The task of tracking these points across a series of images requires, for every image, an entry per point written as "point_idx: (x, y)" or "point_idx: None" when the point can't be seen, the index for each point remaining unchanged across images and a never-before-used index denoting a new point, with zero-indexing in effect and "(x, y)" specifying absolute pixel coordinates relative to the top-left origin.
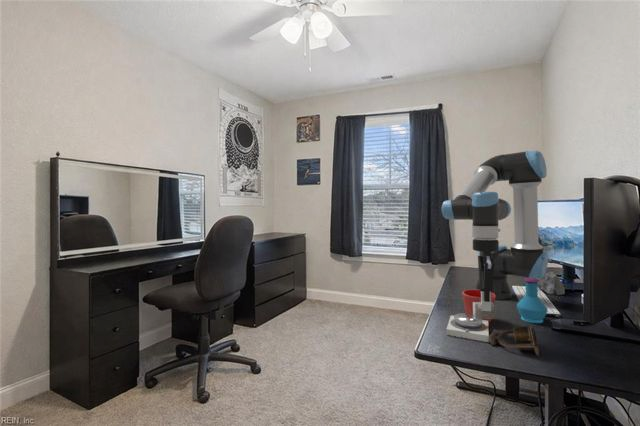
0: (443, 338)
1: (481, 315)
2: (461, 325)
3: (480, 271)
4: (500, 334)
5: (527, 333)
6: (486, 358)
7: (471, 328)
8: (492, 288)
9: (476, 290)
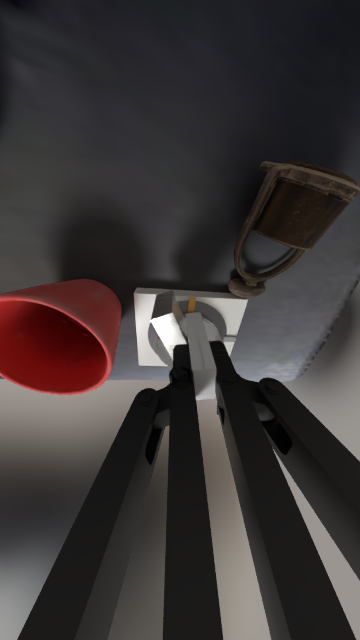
0: (238, 361)
1: (185, 325)
2: None
3: (124, 565)
4: (245, 274)
5: (346, 205)
6: (317, 302)
7: None
8: (292, 394)
9: None
